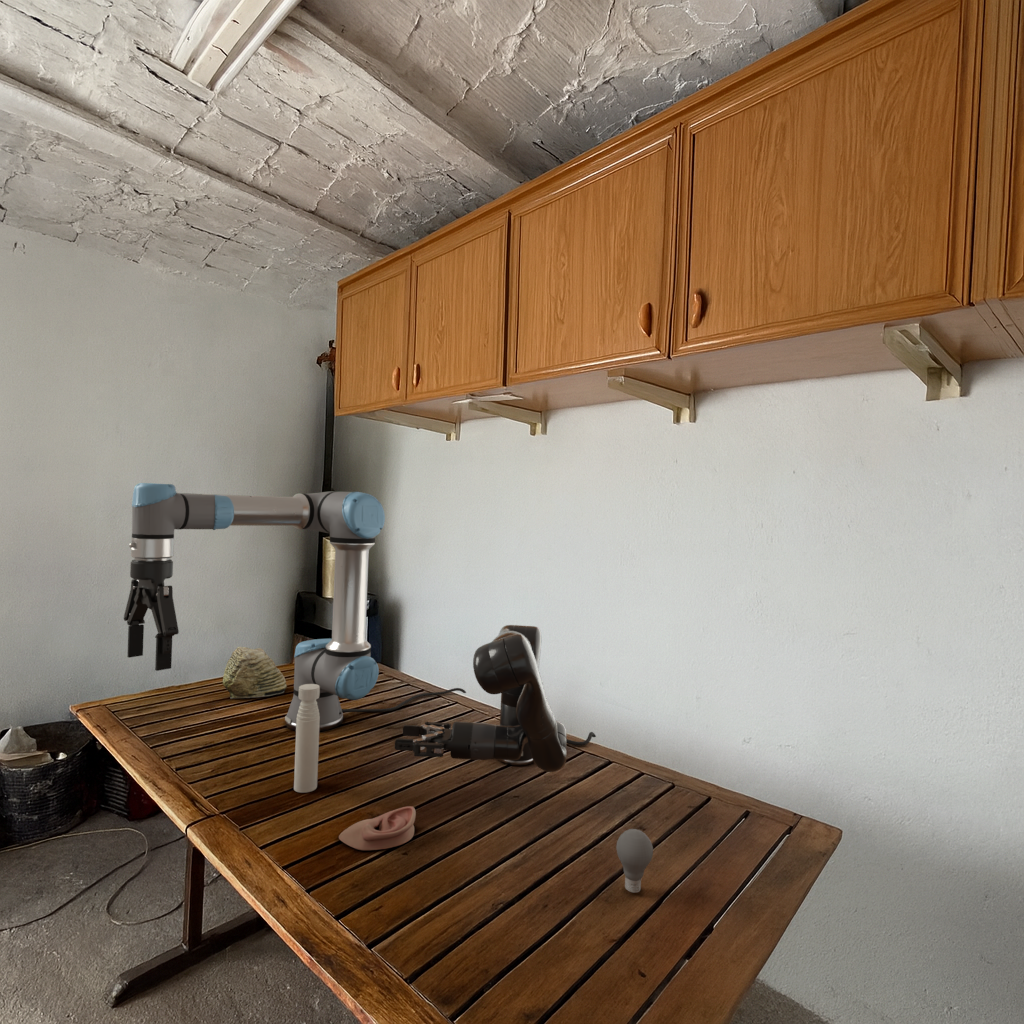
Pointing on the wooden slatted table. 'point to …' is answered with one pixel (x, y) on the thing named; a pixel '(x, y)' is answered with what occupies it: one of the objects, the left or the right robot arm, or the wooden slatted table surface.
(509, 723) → the right robot arm
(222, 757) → the wooden slatted table surface
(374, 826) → the anatomical model
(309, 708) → the bottle
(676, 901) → the wooden slatted table surface
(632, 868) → the light bulb
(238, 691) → the fossil
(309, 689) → the cap
